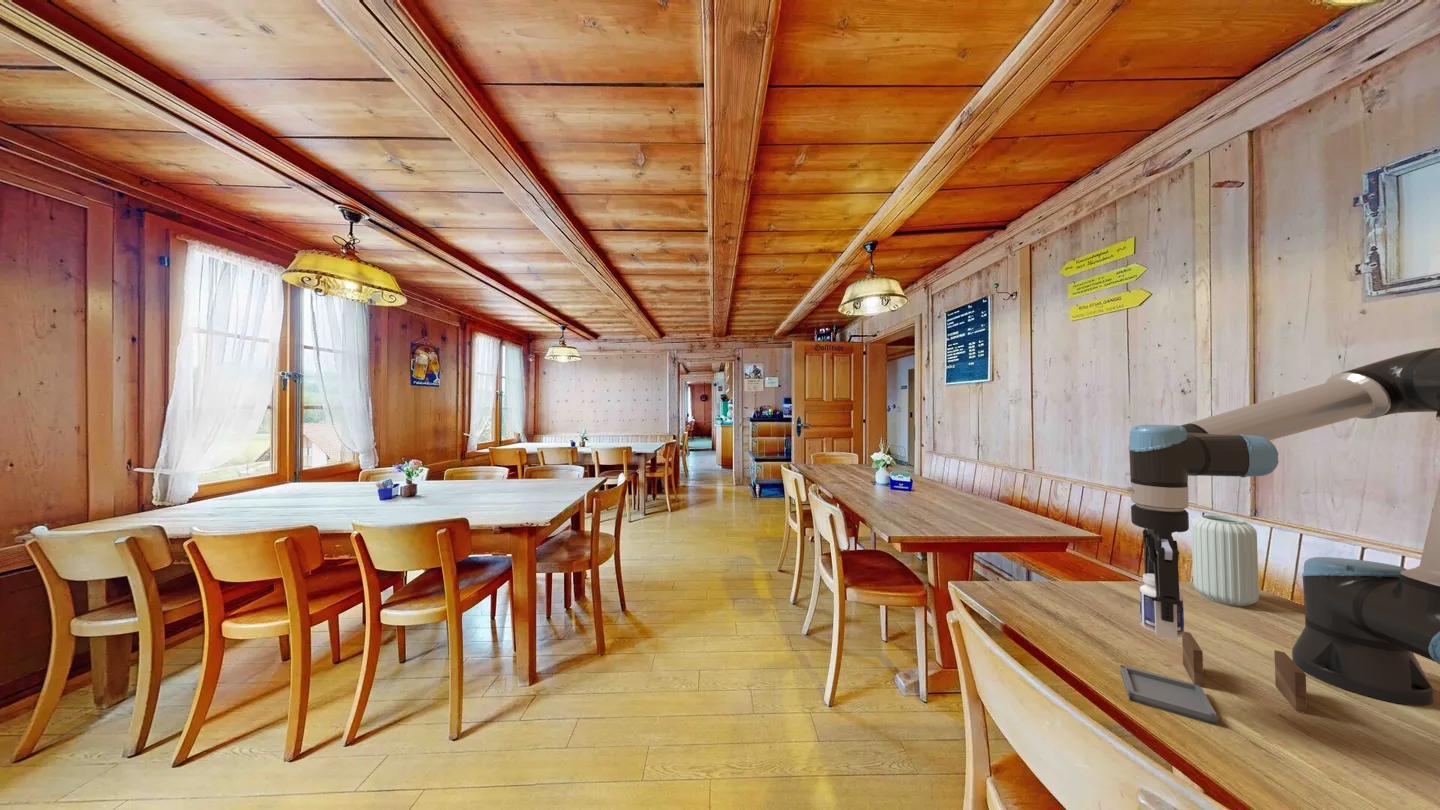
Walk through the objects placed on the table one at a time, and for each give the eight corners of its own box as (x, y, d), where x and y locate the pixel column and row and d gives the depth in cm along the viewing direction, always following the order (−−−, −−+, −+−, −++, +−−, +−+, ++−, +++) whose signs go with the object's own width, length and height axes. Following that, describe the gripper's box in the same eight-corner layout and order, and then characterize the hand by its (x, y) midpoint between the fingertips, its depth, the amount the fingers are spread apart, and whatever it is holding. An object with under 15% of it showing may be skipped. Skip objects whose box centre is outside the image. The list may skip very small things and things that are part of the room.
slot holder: (1285, 688, 80) (1284, 652, 80) (1307, 714, 74) (1305, 674, 74) (1183, 664, 88) (1181, 631, 88) (1194, 685, 82) (1193, 649, 82)
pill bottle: (1193, 640, 76) (1192, 585, 76) (1156, 637, 77) (1154, 583, 77) (1166, 623, 81) (1165, 572, 81) (1132, 621, 82) (1130, 571, 82)
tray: (1200, 692, 80) (1199, 684, 80) (1218, 725, 72) (1218, 717, 72) (1120, 672, 86) (1120, 664, 86) (1129, 700, 78) (1129, 692, 78)
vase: (1269, 613, 107) (1266, 526, 107) (1203, 603, 113) (1200, 521, 113) (1246, 595, 116) (1243, 516, 116) (1186, 587, 123) (1184, 511, 123)
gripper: (1123, 495, 89) (1126, 604, 89) (1140, 515, 74) (1144, 646, 74) (1174, 499, 84) (1177, 613, 84) (1204, 521, 69) (1208, 660, 69)
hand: (1162, 628), depth 79 cm, fingers closed on pill bottle, 6 cm apart
